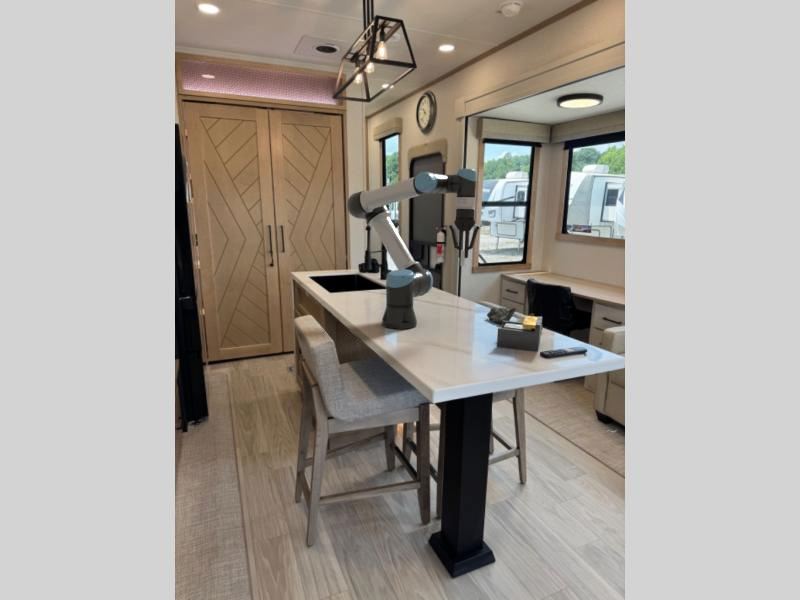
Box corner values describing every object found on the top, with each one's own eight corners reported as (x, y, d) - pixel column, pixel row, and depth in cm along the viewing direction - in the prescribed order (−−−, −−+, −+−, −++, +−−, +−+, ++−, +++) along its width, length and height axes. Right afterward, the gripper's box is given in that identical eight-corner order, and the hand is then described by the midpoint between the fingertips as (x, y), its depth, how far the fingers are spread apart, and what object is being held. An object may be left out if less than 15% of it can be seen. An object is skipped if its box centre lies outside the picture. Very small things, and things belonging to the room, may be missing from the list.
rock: (501, 324, 191) (512, 304, 191) (478, 314, 200) (489, 295, 200) (514, 333, 200) (524, 314, 200) (491, 323, 209) (501, 304, 209)
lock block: (502, 344, 165) (503, 326, 164) (505, 340, 171) (506, 323, 169) (529, 348, 162) (531, 330, 160) (531, 343, 167) (533, 326, 166)
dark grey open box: (496, 346, 162) (498, 320, 160) (501, 337, 174) (503, 312, 172) (537, 351, 157) (540, 325, 155) (540, 341, 169) (542, 316, 167)
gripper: (447, 208, 178) (445, 265, 183) (479, 208, 173) (476, 267, 178) (452, 208, 185) (449, 263, 190) (483, 208, 180) (479, 265, 185)
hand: (462, 265), depth 184 cm, fingers closed
